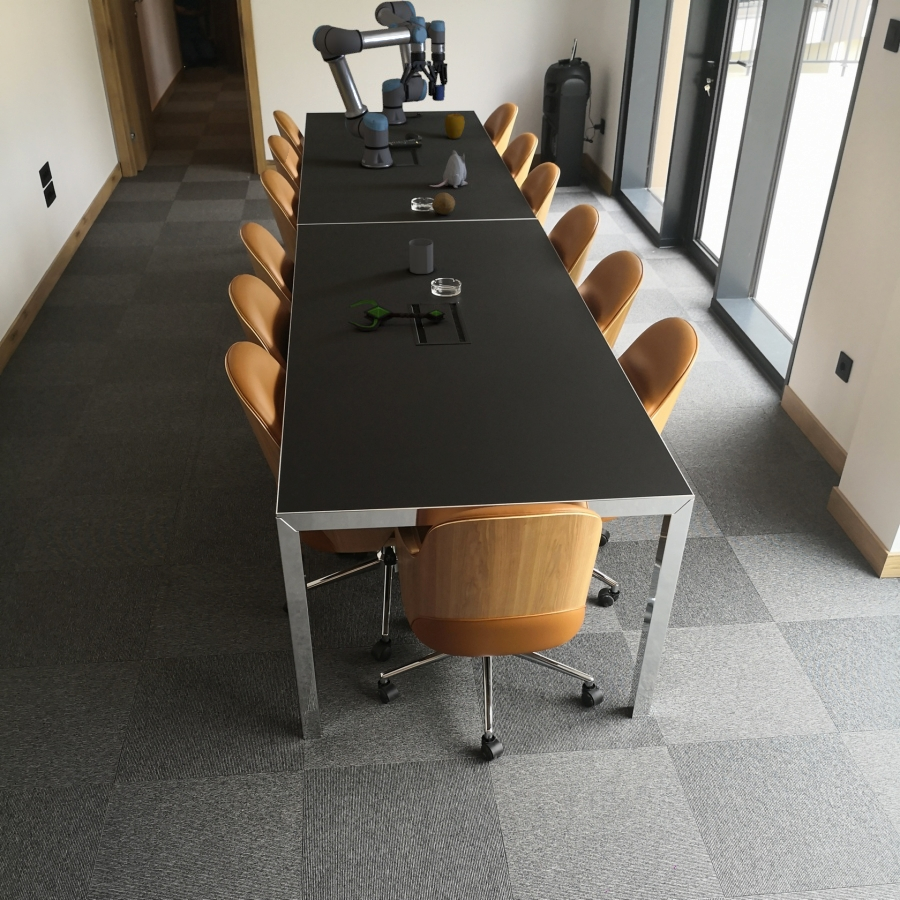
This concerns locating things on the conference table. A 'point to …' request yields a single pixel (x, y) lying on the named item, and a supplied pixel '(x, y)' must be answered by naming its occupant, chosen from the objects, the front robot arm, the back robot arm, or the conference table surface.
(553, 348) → the conference table surface
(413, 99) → the back robot arm
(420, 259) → the cup
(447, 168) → the toy
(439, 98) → the can
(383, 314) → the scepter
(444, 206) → the potato
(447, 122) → the yellow bell pepper
